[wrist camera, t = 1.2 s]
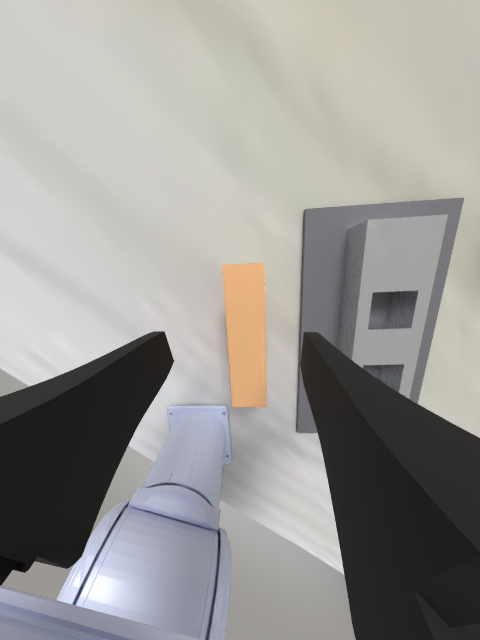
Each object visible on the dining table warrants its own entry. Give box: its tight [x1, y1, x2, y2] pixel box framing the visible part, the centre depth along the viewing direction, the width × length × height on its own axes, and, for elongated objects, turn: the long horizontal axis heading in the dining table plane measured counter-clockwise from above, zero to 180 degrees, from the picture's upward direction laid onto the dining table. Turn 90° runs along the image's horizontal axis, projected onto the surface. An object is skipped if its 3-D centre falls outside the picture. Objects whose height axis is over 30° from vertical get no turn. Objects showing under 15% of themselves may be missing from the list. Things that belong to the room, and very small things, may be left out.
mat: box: [297, 198, 464, 433], centre depth 20 cm, size 26×14×1 cm, turn 3°
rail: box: [337, 214, 448, 399], centre depth 18 cm, size 22×6×3 cm, turn 3°
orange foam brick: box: [222, 263, 267, 407], centre depth 17 cm, size 12×3×6 cm, turn 3°
